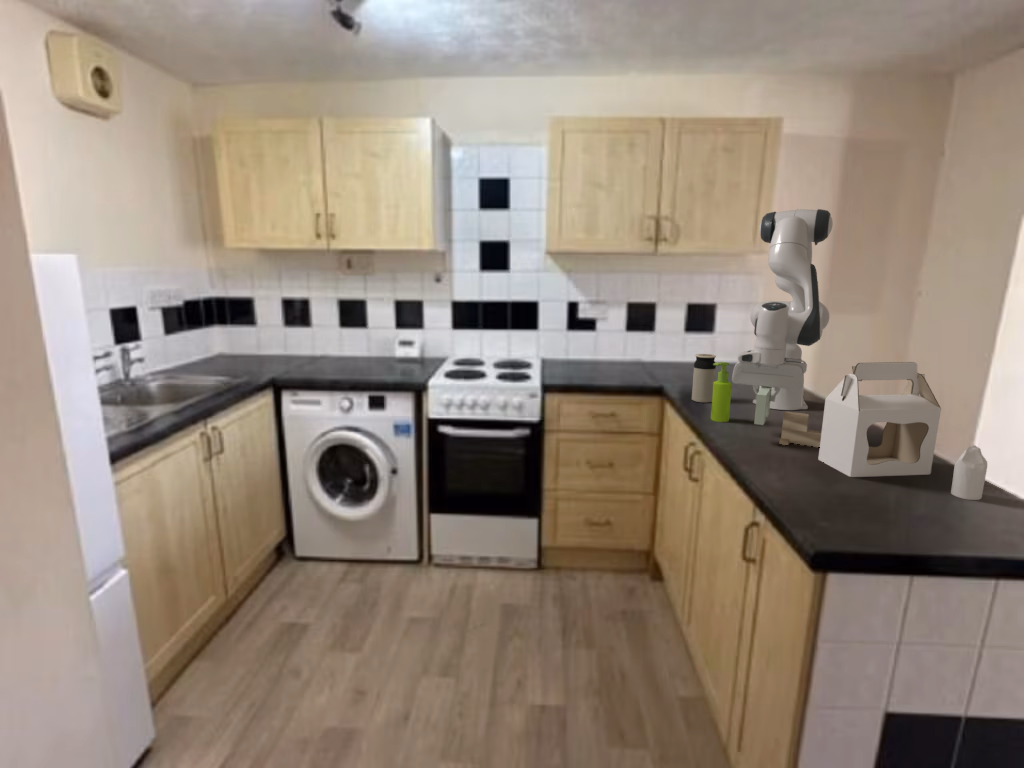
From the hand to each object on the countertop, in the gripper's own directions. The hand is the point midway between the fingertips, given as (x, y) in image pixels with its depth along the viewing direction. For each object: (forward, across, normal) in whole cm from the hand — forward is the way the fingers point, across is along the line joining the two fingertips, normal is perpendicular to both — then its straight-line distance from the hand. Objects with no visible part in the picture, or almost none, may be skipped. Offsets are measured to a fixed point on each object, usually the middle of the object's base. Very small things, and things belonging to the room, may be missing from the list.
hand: (765, 400), depth 175 cm
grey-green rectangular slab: (+5, 0, +5) cm, 7 cm away
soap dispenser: (+11, +15, -10) cm, 21 cm away
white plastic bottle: (+10, -47, +28) cm, 56 cm away
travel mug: (+12, +26, -36) cm, 46 cm away
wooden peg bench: (+11, -15, +6) cm, 19 cm away
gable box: (+11, -29, +18) cm, 36 cm away
